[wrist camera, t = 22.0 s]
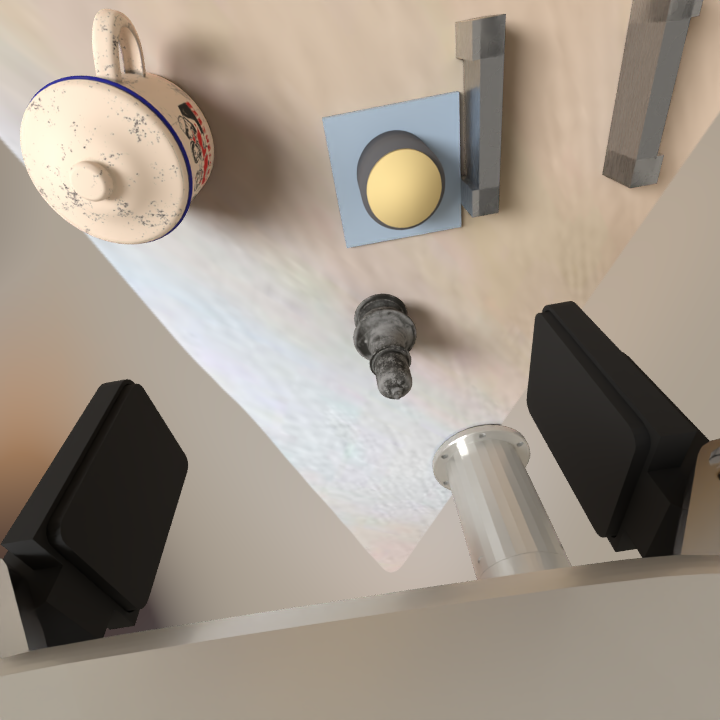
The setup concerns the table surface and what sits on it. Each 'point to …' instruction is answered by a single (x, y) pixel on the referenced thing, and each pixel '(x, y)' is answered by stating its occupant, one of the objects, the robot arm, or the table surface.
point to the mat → (420, 117)
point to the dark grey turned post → (386, 342)
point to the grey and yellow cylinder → (400, 180)
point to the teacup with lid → (117, 143)
